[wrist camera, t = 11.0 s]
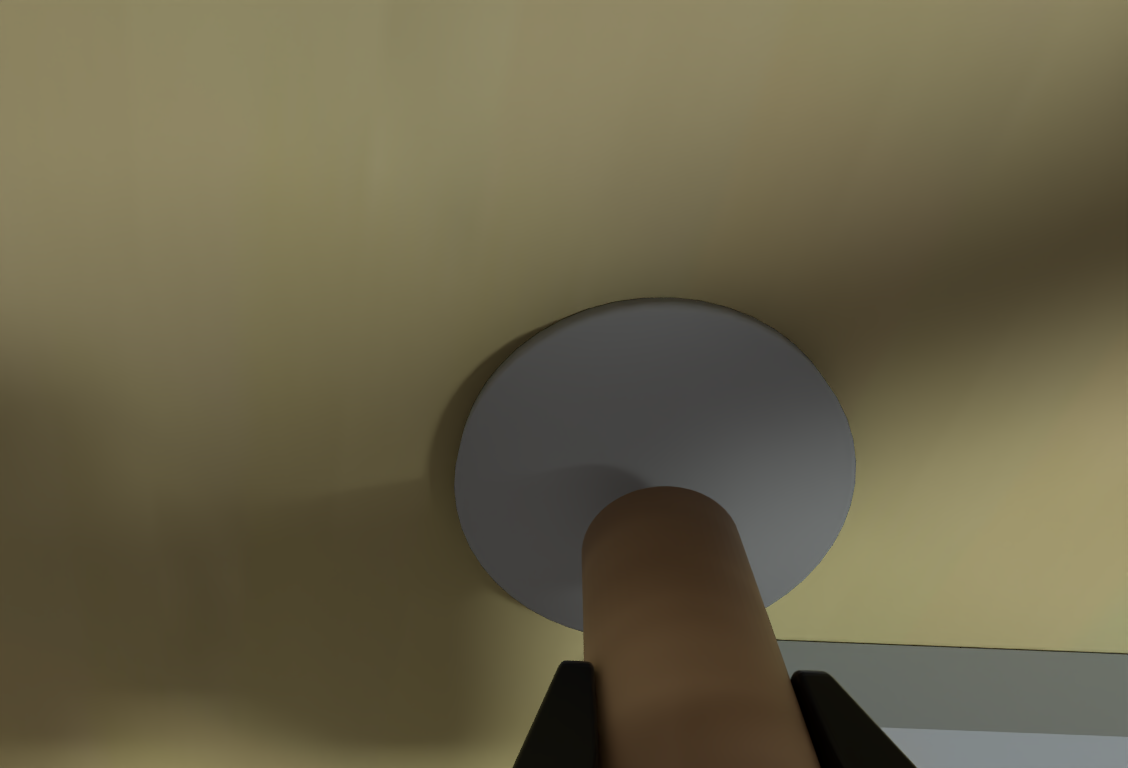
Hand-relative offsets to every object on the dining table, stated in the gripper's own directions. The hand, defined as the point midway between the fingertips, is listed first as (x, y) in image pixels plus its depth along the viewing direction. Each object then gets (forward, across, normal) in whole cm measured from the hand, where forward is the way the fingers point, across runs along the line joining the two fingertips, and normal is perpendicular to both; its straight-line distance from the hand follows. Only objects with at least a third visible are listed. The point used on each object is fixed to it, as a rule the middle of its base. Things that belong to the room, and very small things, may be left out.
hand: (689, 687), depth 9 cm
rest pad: (+5, 0, 0) cm, 5 cm away
